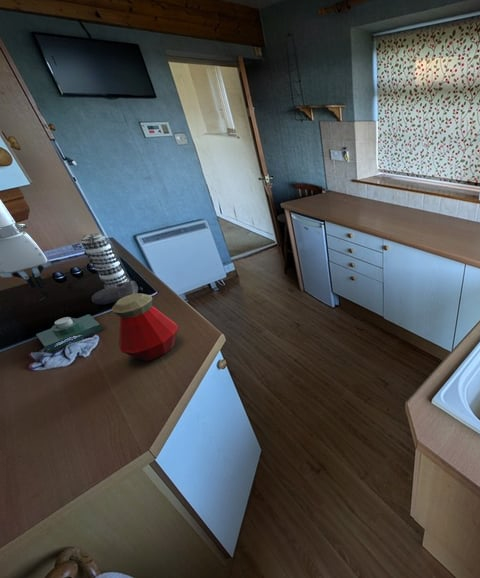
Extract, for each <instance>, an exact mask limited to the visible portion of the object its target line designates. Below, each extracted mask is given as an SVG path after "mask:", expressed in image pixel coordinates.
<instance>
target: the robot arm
mask: <svg viewBox="0 0 480 578" xmlns="http://www.w3.org/2000/svg"><path fill="white" fill-rule="evenodd" d="M27 228H28V226H27V225H26V224H25V223H24V222H23V223H18V222H16V221H15V218H14V217H13V216H12V215H11V213H10V212H9V210H8V209H7V207H6V206H5V204H4V202H3V201H2V200H1V199H0V277H1V278H3V279H5V278H13V277H14V278H19V279H23V280H25V281H26V282H27V283H28V285H29V286H30V287H31V289H33V288H35V289H36V290H37V291H39V290H41V289H45V287H44V285H46V282H45V281H44V280H43V279H42V277H41V273H42V272H43V271H44V269H46V268H48V267H50V266H52V262H51V261H50V260H48V258H47V256H46V254H45V253H44V251H43V250H42V249H41V248H40V246H39V245H38V244H37V243H36V241H35V240H34V239H33V238H32V236H30V235H29V234H28V232H26V231H23V230H24V229H27ZM28 269H30V271H31V274H28V273H26V271H25V270H28ZM31 275H32V276H31Z"/></svg>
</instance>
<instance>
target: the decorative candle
mask: <svg viewBox="0 0 480 578" xmlns="http://www.w3.org/2000/svg"><path fill="white" fill-rule="evenodd" d="M79 243H80V244H81V245H82V247H83V250H84V251H83V254H84V256H86V259H87V260H88V262H89V263H90V264H92V265H91V266H92V268H93V270H95V271H97V273H98V276H99V278H100V282H101V283H102V284H103V287H104V289H105V288H107V287H110V286H113V285H116V284H120V283H124V282H128V281H130V279H129V278H128V275H127V273H126V272H125V271H124V269H123V268H122V266H121V265H120V264H121V262H120V259H119V258H118V255H117V254H116V251H115V250H114V249H115V247H113V246H111V244H110V243H109V242H108V239H107V236H106V235H104V234H101V233H89V234H86V235H83V236H82V237H81V239H80V240H79Z"/></svg>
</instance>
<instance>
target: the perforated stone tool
mask: <svg viewBox="0 0 480 578" xmlns="http://www.w3.org/2000/svg"><path fill="white" fill-rule="evenodd" d="M138 292H139V286H138V284H137V282H136V281H135V280H129V281H128V282H124V283H120V284H116V285H113V286H110V287H107V288H105V287H104V288H103V289H100V290H98V291H97V292H95V293H93V295H92V296H91V302H92V303H93V304H95V305H98V306H99V305H100V306H101V305H110V304H112V303H114V304H115V303H116V302H117V301H118V300H120V299H121V298H123V297H125V296H128V295H131V294H136V293H138Z"/></svg>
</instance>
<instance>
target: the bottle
mask: <svg viewBox="0 0 480 578" xmlns="http://www.w3.org/2000/svg"><path fill="white" fill-rule="evenodd" d="M111 311H112V313H114V314H115V315H117V316H118V317H119V319H120V320H119V334H118V335H119V336H118V347H119V350H120V352H121V353H123V354H126V355H128V356H130V357H133V358H136V359H138V360H140V361H145V362H146V361H147V362H148V361H152V360H156V359H159V358H160V357H162V356H164V355H166V354H167V353H169V352H170V351H171V350H172V349H173V347H174V346H175V344H176V340H177V335H178V333H179V332H178V331H179V327H178V325H177V324H176V322H175V321H174V320H172V319H170V317H168V316H166V314H164V313H163V312H161V311H160V310H159V309H157V308H156V307H155V306H153V297H152V296H151V295H150V294H146V293H138V292H137V293H136V294H131V295H128V296H125V297H123V298H121V299H120V300H118V301H117V302H115V303H114V304H113V306H112V308H111Z"/></svg>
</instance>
